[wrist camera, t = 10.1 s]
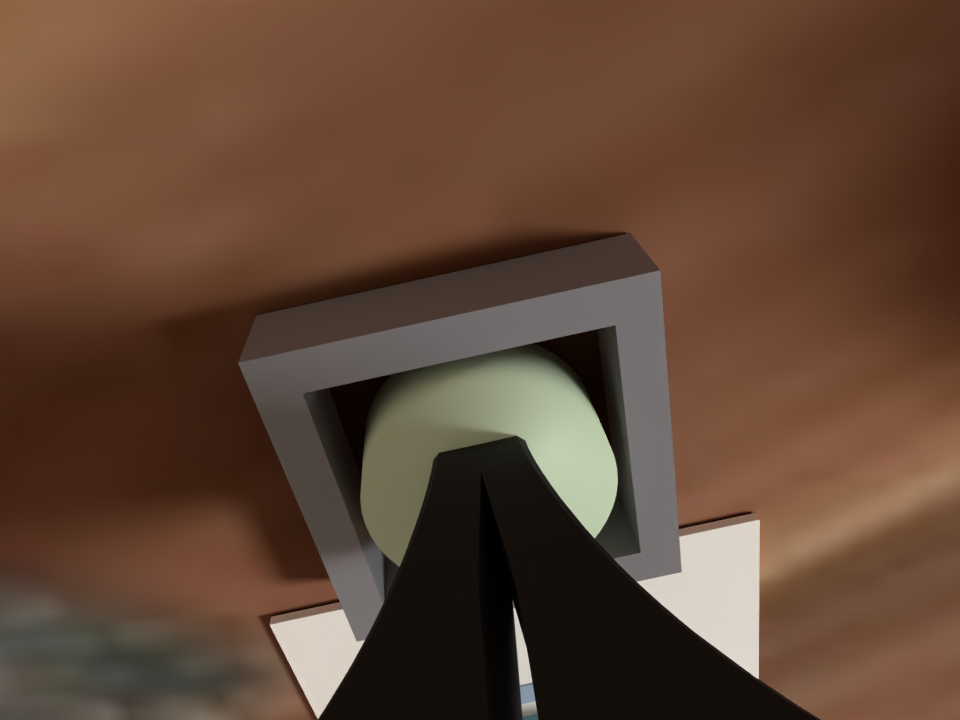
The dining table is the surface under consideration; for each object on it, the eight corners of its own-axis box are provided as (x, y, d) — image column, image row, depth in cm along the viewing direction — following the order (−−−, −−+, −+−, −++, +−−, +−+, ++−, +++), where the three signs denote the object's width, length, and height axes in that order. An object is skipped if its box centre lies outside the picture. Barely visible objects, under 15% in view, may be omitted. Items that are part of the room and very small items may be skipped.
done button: (605, 497, 14) (628, 560, 12) (397, 542, 14) (396, 610, 12) (579, 311, 12) (603, 360, 10) (335, 364, 12) (327, 420, 10)
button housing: (656, 515, 14) (681, 572, 13) (360, 579, 14) (356, 641, 13) (630, 233, 11) (660, 270, 10) (255, 315, 11) (238, 362, 10)
